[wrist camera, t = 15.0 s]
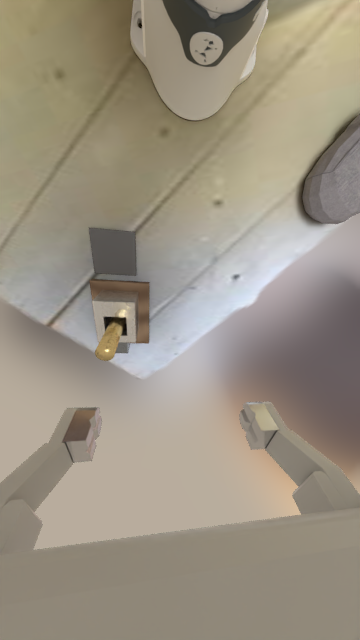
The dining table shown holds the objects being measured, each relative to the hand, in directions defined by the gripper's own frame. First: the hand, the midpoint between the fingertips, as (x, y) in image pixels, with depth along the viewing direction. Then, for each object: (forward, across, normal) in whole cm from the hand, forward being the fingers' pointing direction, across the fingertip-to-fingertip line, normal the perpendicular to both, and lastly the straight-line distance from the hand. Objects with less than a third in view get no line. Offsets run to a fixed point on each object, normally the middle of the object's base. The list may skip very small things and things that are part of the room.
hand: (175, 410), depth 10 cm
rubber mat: (+35, +11, -3) cm, 37 cm away
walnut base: (+35, +10, +11) cm, 38 cm away
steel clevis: (+33, +9, +12) cm, 37 cm away
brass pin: (+33, +10, +11) cm, 36 cm away
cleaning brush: (+36, -36, -22) cm, 55 cm away
